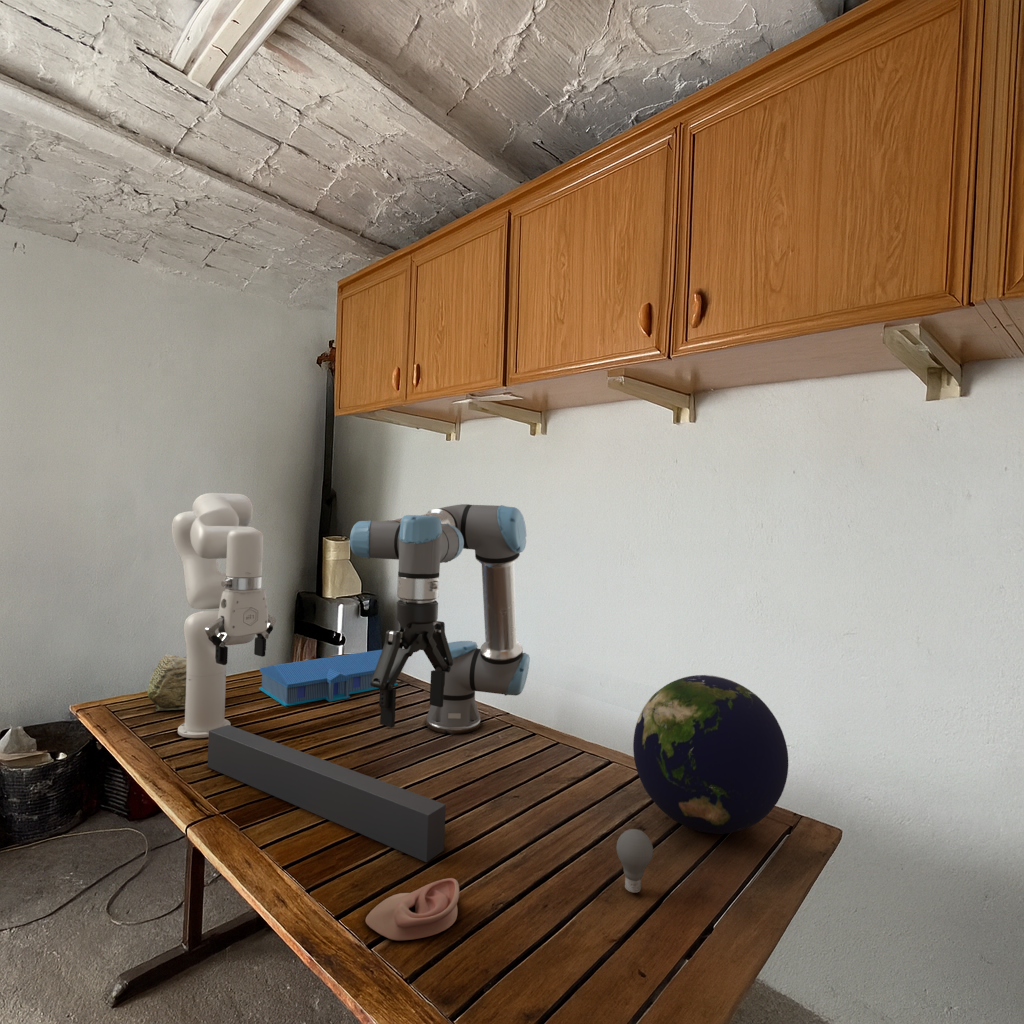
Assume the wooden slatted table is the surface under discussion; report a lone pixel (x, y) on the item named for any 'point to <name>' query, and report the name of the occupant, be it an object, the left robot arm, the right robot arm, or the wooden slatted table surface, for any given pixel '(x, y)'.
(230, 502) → the left robot arm
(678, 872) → the wooden slatted table surface
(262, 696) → the wooden slatted table surface
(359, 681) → the model building
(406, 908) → the anatomical model
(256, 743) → the post
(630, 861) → the light bulb
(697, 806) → the globe
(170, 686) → the fossil
